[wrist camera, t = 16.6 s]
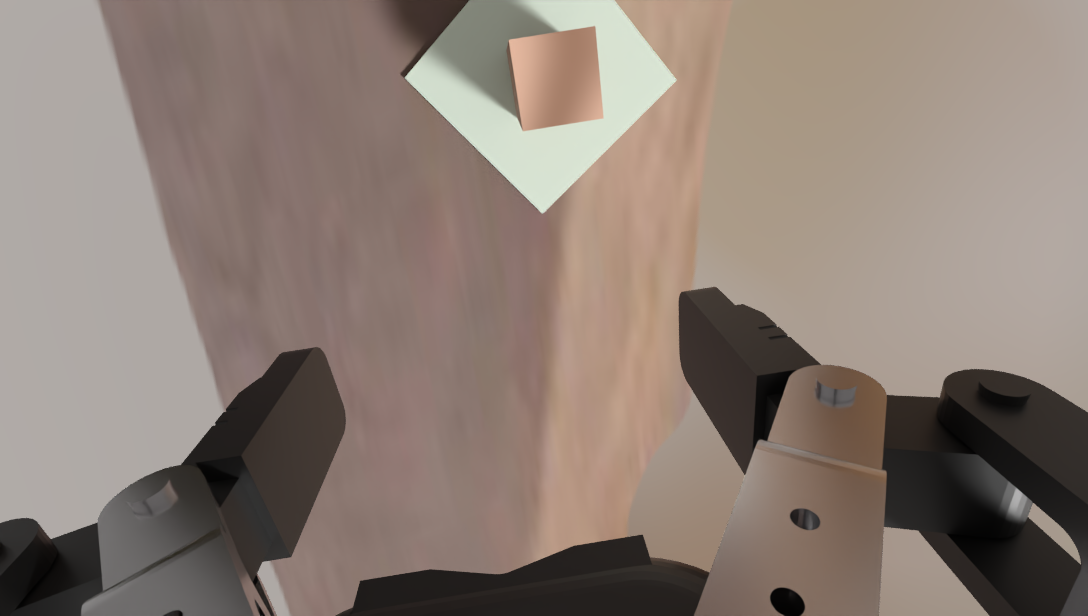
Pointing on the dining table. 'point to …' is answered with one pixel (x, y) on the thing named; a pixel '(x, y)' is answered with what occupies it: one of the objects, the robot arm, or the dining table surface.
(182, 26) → the dining table surface
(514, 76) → the tan recessed-panel box
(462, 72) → the mat
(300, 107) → the dining table surface
